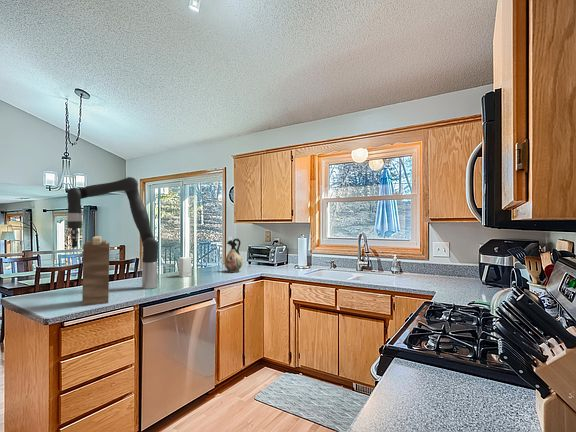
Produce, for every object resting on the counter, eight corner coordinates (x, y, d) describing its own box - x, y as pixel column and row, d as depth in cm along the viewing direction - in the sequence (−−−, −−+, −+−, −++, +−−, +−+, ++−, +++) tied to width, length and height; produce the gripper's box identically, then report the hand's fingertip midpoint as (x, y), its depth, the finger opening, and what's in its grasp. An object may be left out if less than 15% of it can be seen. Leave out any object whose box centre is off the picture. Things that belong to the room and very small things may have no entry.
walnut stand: (83, 300, 181) (85, 240, 182) (108, 298, 187) (109, 240, 187) (82, 305, 170) (83, 241, 171) (108, 302, 176) (109, 241, 177)
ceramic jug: (222, 272, 282) (222, 238, 283) (227, 270, 298) (228, 237, 298) (241, 273, 280) (241, 238, 281) (245, 270, 295) (246, 238, 296)
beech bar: (94, 242, 192) (94, 236, 192) (101, 241, 194) (101, 236, 194) (92, 244, 169) (92, 238, 170) (100, 244, 171) (100, 238, 171)
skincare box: (187, 275, 268) (187, 256, 268) (191, 276, 264) (192, 257, 264) (178, 276, 261) (178, 257, 262) (182, 277, 257) (182, 258, 257)
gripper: (81, 220, 194) (81, 247, 194) (82, 220, 206) (82, 246, 206) (65, 220, 190) (65, 248, 190) (68, 220, 203) (68, 246, 202)
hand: (74, 247), depth 198 cm, fingers open, 8 cm apart
